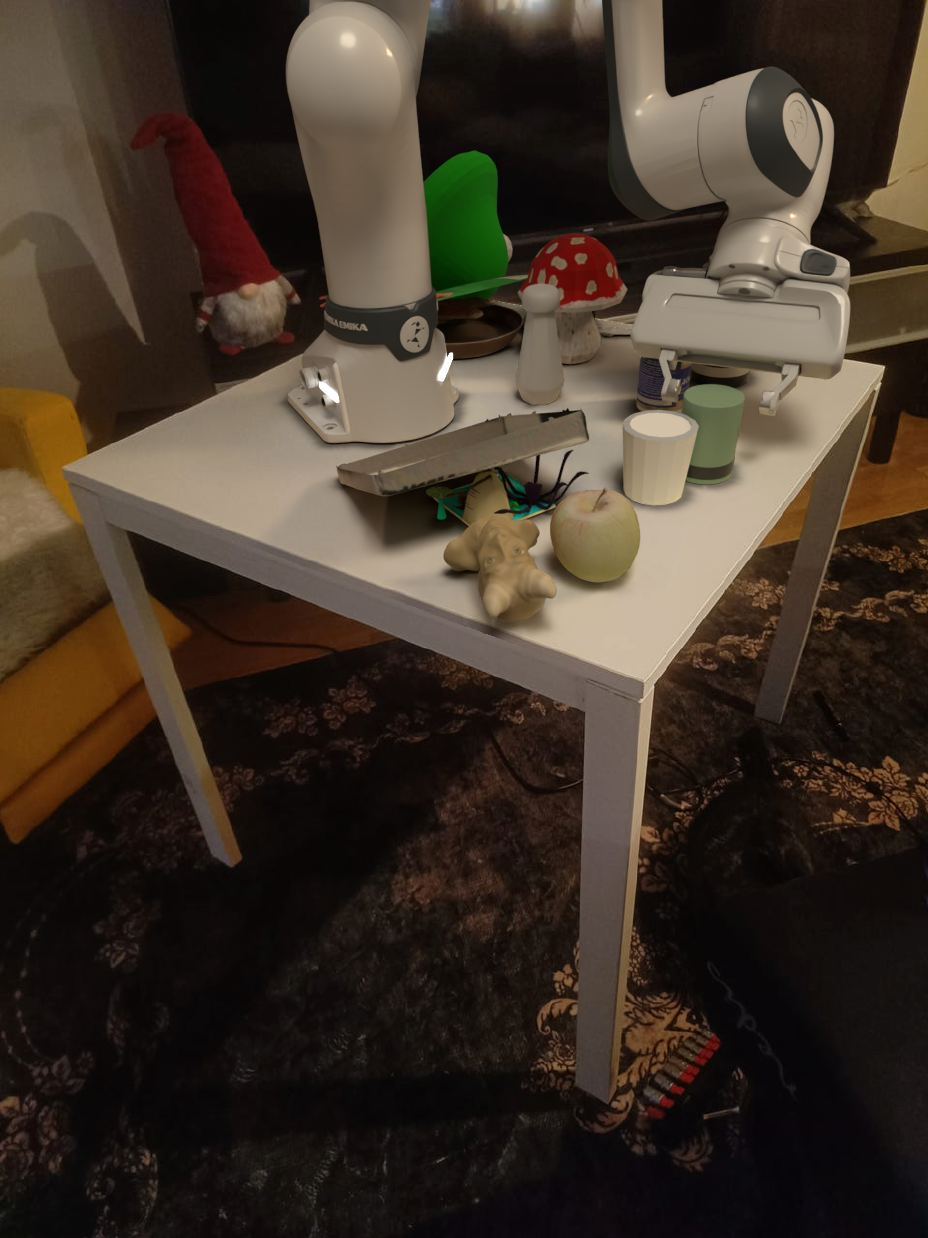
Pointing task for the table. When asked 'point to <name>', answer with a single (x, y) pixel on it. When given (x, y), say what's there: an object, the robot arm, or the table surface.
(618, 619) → the table surface
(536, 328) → the salt shaker
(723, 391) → the green cylinder
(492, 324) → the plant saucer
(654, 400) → the pill bottle
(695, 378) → the flask
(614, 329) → the pocket knife
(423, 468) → the decorative tile
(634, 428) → the white cup
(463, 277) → the toy
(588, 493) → the fruit
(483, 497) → the diorama
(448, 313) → the stone tool
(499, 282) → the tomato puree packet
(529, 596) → the beige knobby lump
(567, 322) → the decorative mushroom
